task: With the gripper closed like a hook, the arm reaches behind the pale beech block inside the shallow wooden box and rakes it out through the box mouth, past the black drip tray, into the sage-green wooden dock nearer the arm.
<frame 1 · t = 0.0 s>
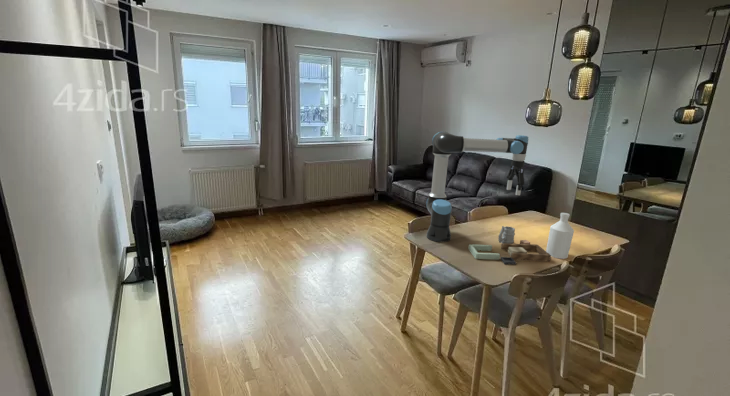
hand: (513, 192, 226), 28 cm above the table, fingers open, 13 cm apart
terracotta cube: (524, 247, 210), on the table
bottle: (556, 254, 202), on the table
mug: (504, 243, 215), on the table
shallow wooden box: (524, 254, 200), on the table
dock: (483, 254, 198), on the table
tray: (507, 261, 190), on the table
beech block: (516, 255, 199), on the table
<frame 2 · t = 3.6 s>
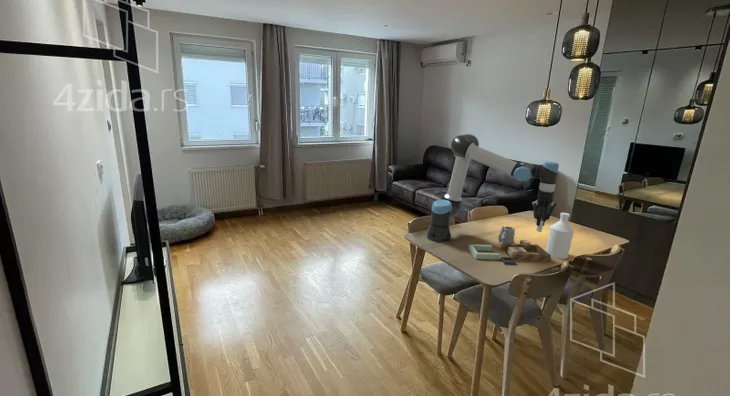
hand: (539, 231, 195), 15 cm above the table, fingers closed
nothing on the table moved.
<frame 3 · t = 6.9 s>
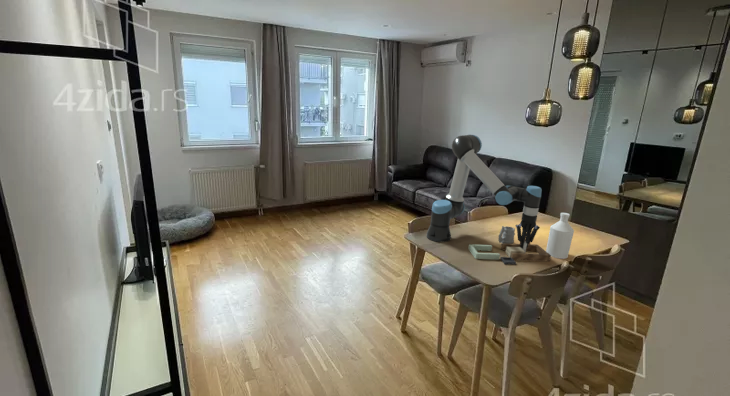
hand: (522, 252, 198), 1 cm above the table, fingers closed
beech block: (514, 255, 199), on the table, touching gripper
everything else where it was.
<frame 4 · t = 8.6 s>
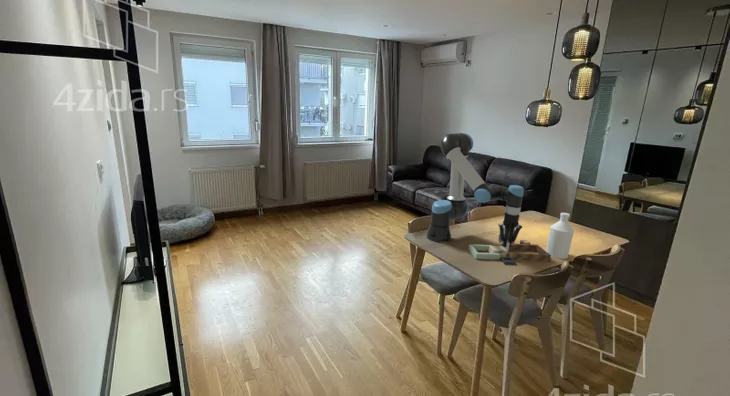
hand: (505, 252, 198), 1 cm above the table, fingers closed
beech block: (497, 254, 198), on the table
everything else where it was.
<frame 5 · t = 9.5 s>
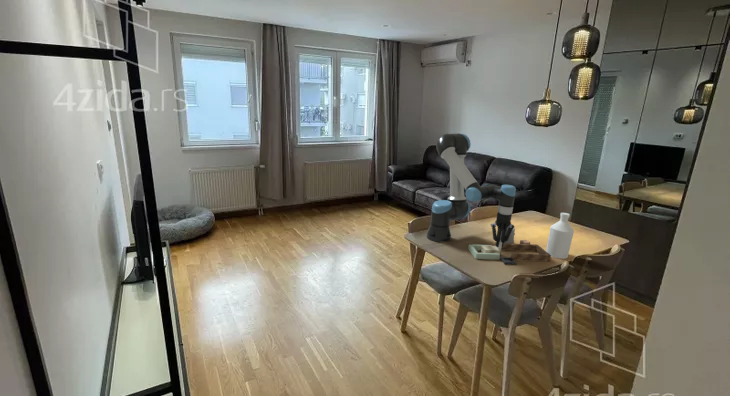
hand: (498, 252, 198), 2 cm above the table, fingers closed
beech block: (489, 254, 198), on the table, touching gripper
everything else where it was.
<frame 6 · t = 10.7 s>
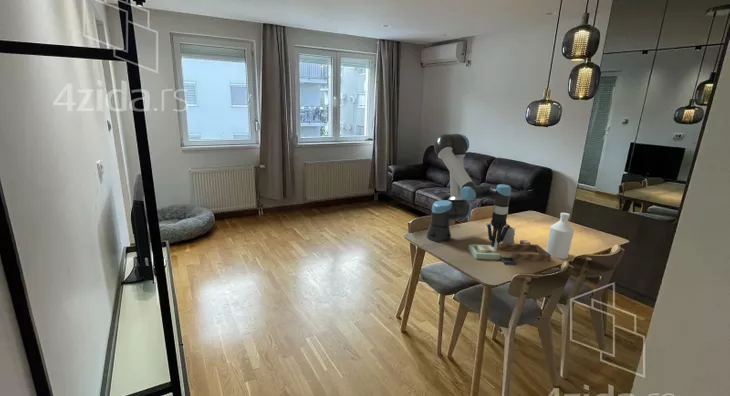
hand: (493, 251, 198), 2 cm above the table, fingers closed
beech block: (485, 254, 198), on the table
everything else where it was.
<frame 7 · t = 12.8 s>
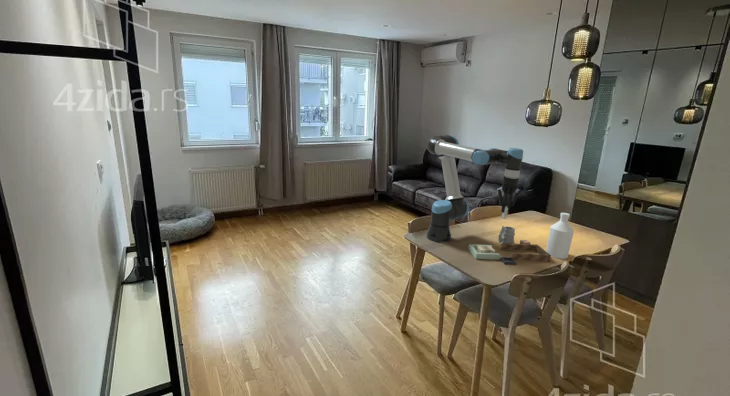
hand: (503, 217, 195), 22 cm above the table, fingers closed
nothing on the table moved.
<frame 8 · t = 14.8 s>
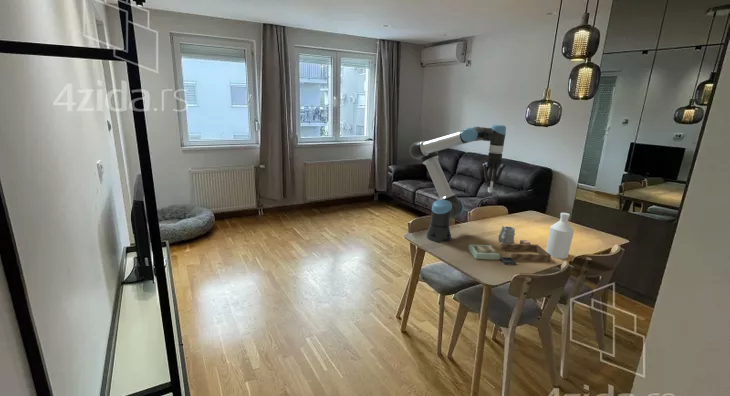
hand: (489, 192, 206), 32 cm above the table, fingers closed
nothing on the table moved.
at the end: beech block inside the target area on the dock (0.2 cm from its centre), point 0.0 cm above the dock's base; beech block tilted 0°; beech block touching table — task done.
